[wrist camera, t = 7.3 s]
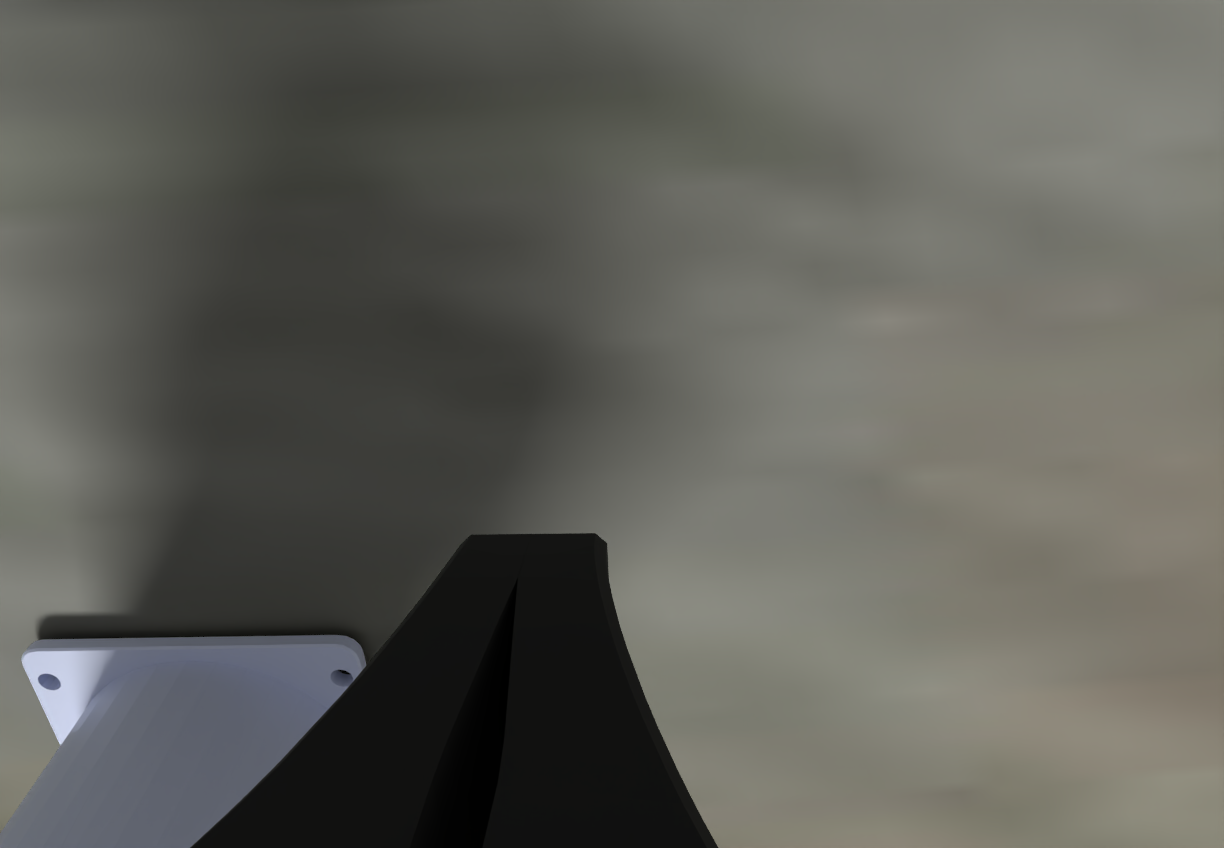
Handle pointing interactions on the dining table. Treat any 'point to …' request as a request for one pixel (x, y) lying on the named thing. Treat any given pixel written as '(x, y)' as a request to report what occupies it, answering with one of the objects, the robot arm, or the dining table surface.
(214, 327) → the dining table surface
